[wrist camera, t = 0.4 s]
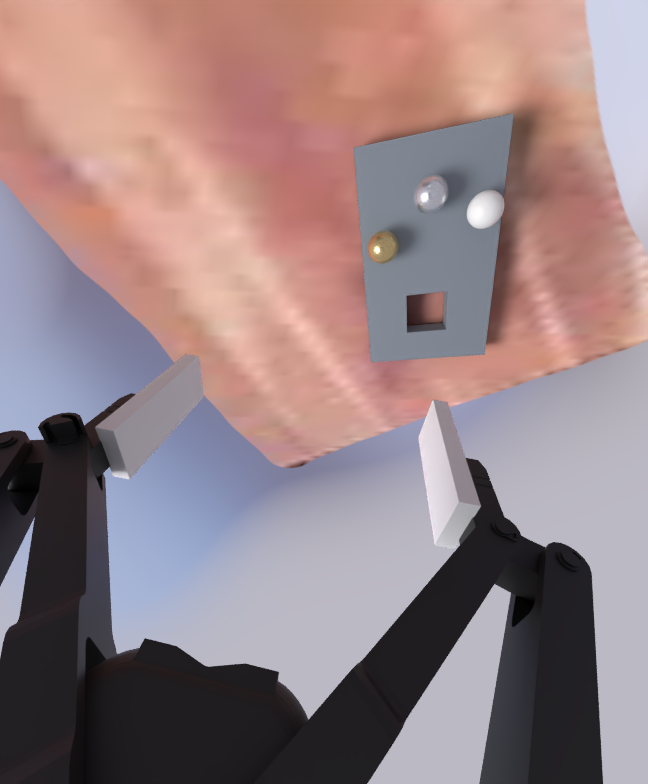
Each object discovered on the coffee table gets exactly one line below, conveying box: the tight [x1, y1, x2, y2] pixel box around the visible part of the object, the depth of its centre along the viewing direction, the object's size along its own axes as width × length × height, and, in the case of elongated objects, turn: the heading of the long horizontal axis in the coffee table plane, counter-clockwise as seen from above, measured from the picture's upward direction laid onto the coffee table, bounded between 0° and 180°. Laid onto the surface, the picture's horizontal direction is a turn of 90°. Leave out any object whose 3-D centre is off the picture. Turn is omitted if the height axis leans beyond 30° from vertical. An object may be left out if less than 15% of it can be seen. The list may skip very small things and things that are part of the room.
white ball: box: [467, 190, 504, 229], centre depth 29 cm, size 3×3×3 cm
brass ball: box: [368, 230, 399, 264], centre depth 33 cm, size 3×3×3 cm
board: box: [354, 113, 514, 362], centre depth 35 cm, size 23×14×2 cm, turn 9°
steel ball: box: [413, 175, 449, 214], centre depth 30 cm, size 3×3×3 cm
